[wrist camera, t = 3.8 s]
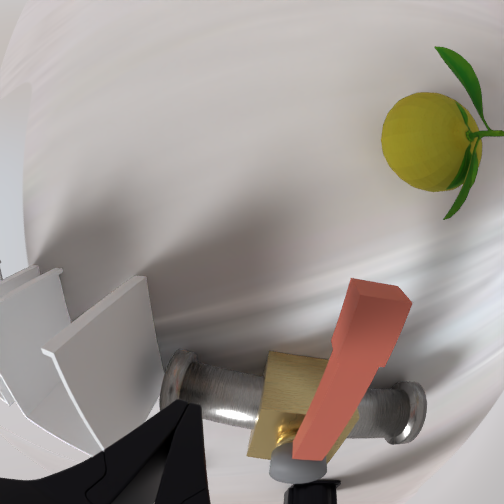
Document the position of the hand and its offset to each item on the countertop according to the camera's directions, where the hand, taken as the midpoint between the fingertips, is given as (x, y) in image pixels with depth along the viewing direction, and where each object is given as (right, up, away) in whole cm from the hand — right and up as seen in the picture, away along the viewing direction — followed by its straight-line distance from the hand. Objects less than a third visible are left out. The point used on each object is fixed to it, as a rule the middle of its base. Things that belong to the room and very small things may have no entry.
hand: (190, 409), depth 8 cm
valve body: (+6, -6, +13) cm, 16 cm away
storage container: (-18, -1, +16) cm, 24 cm away
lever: (+6, -3, +5) cm, 8 cm away
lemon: (+12, +12, +7) cm, 19 cm away
